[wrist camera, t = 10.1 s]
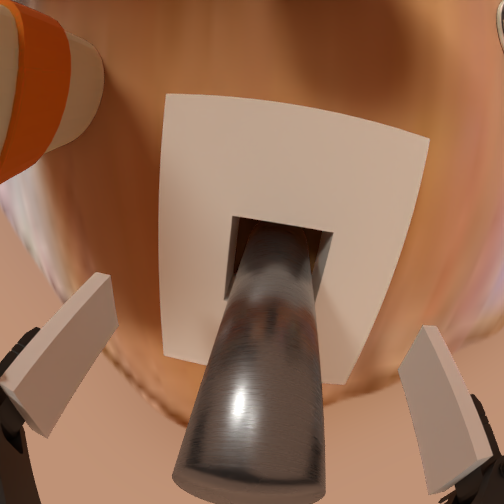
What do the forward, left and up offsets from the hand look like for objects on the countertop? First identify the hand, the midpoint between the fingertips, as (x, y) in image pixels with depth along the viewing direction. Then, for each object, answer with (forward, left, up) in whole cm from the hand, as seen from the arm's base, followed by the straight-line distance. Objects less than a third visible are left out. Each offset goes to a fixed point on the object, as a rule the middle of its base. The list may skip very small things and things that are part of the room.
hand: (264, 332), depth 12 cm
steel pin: (0, 0, -9) cm, 10 cm away
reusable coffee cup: (-10, -18, -10) cm, 22 cm away
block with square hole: (0, 0, -9) cm, 10 cm away
